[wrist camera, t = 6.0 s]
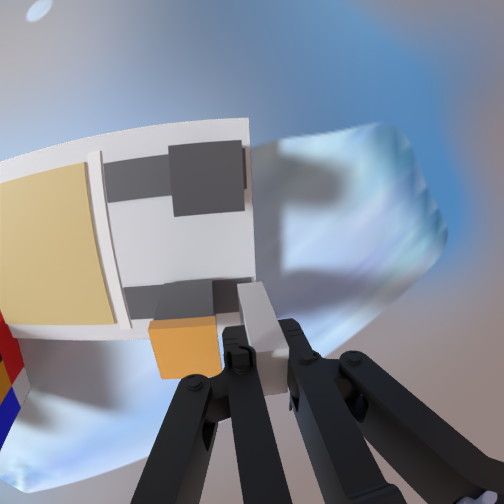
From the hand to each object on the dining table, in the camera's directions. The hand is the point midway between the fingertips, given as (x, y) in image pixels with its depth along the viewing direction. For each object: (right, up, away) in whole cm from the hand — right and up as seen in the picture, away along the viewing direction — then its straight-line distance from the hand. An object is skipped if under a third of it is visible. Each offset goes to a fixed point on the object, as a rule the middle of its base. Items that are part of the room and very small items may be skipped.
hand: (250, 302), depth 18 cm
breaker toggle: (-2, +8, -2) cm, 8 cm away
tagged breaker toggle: (-4, 0, +1) cm, 4 cm away
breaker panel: (-11, +4, +1) cm, 11 cm away
